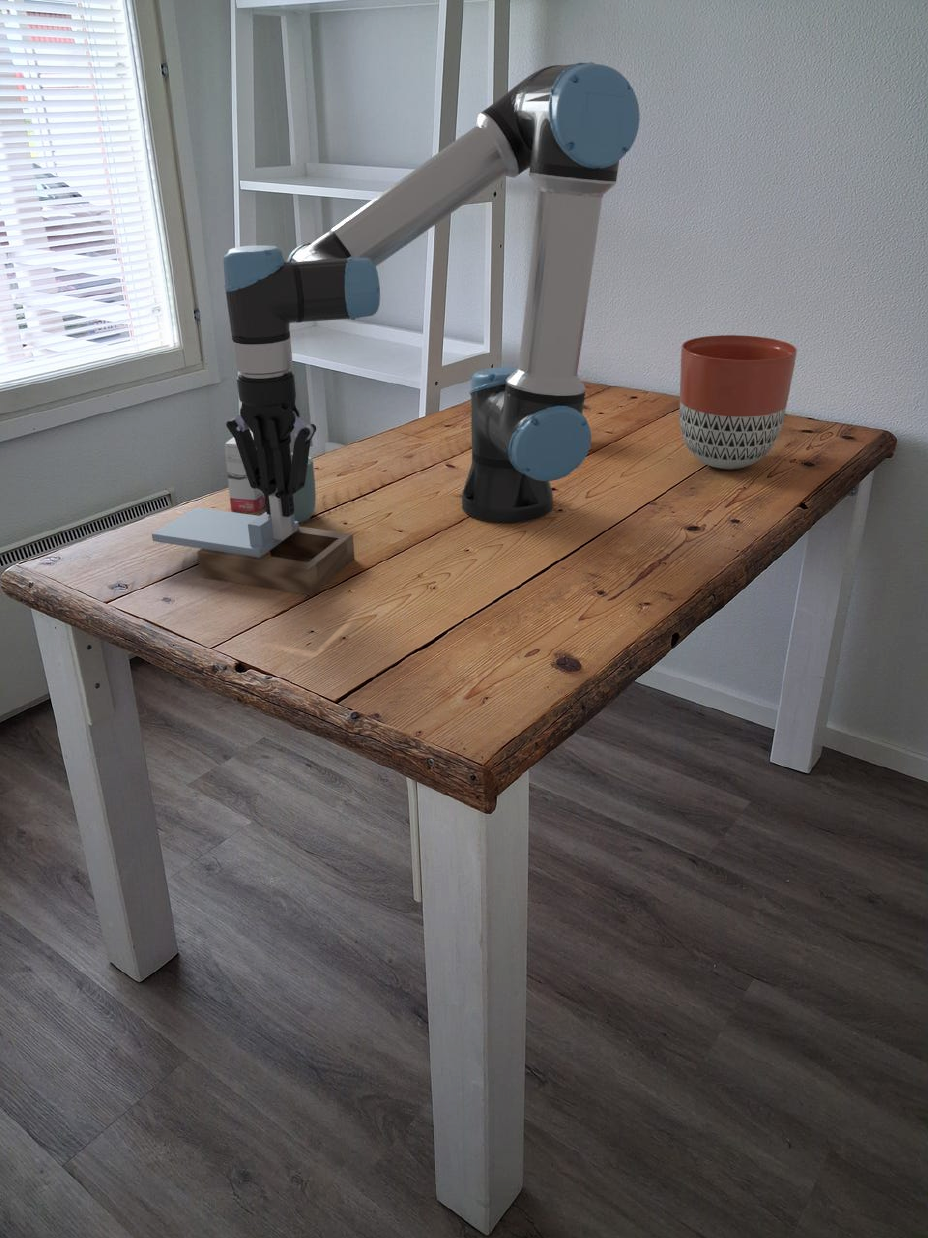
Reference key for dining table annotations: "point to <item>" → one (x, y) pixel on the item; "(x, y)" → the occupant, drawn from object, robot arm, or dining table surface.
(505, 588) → the dining table surface
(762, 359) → the planter
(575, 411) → the robot arm
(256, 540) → the lid
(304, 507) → the cup
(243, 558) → the box
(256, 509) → the ink box
